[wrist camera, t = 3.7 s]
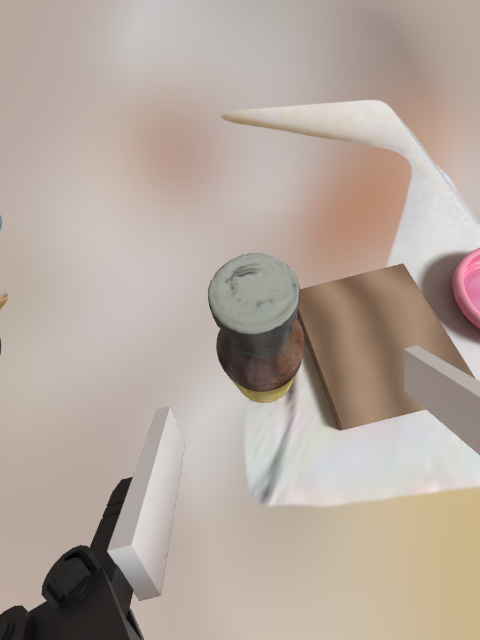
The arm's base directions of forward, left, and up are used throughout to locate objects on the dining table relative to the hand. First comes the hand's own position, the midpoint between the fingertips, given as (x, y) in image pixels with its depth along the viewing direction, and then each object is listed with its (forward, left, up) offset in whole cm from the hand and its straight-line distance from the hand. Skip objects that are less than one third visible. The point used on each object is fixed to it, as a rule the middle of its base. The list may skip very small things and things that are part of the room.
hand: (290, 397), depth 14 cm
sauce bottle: (-1, +4, -14) cm, 15 cm away
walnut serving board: (+12, +5, -14) cm, 20 cm away
